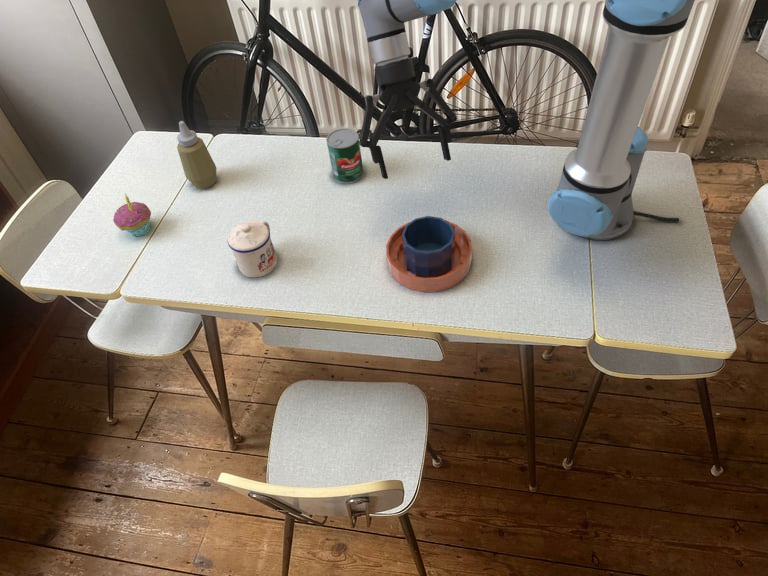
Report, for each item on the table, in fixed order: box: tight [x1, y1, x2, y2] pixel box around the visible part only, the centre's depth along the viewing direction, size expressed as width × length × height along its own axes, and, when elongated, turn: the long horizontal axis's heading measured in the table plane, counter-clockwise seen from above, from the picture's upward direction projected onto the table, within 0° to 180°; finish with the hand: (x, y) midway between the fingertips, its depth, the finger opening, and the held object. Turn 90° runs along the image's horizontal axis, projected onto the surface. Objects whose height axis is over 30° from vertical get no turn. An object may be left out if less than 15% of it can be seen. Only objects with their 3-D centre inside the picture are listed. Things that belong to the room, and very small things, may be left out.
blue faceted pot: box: [402, 215, 455, 278], centre depth 122 cm, size 11×11×8 cm
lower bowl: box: [385, 219, 473, 293], centre depth 124 cm, size 18×18×4 cm
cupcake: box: [112, 193, 152, 237], centre depth 136 cm, size 9×8×12 cm
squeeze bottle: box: [176, 120, 217, 190], centre depth 144 cm, size 8×8×18 cm
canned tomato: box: [325, 127, 365, 184], centre depth 144 cm, size 8×8×11 cm
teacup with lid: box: [227, 220, 278, 278], centre depth 126 cm, size 12×9×12 cm
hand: (416, 168), depth 119 cm, fingers open, 13 cm apart
